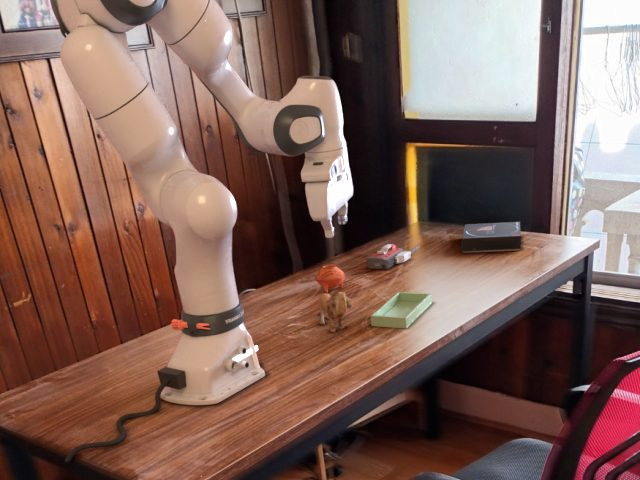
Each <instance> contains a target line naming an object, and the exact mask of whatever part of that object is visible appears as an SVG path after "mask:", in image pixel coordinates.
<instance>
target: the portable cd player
mask: <svg viewBox="0 0 640 480" xmlns="http://www.w3.org/2000/svg"><path fill="white" fill-rule="evenodd" d="M521 234H522V232H521V221H509V222H505V221H504V222H488V223H487V222H486V223H485V222H483V223H468V224H467V223H465V224H464V228H463V232H462V239H461V244H460V250H461V252H462V253H463V254H469V253H489V252H493V253H494V252H513V251H515V252H516V251H521V245H522V244H521V243H522V241H521V239H522V235H521Z"/></svg>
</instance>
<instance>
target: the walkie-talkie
mask: <svg viewBox="0 0 640 480" xmlns="http://www.w3.org/2000/svg"><path fill="white" fill-rule="evenodd" d="M419 249H421V246H420V245H417V246H415V247H413V248H412V249H410V250H404V248H402V247H396V244H393V243H392V244H391V243H387V244H385V245H383V246H382V247H381V249H380V250H377V251H376V253H374V254H372V255H370V256H369V257H367V258H366V263H367V269H370V270H385V271H386V270H388V269H390V268H391V267H393V266H395V265H396V264H402V263H405V262H406V261H408V260H410V259H411V258H412V257H411V255H413V254H414V253H416V252H417V251H418V250H419Z"/></svg>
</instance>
